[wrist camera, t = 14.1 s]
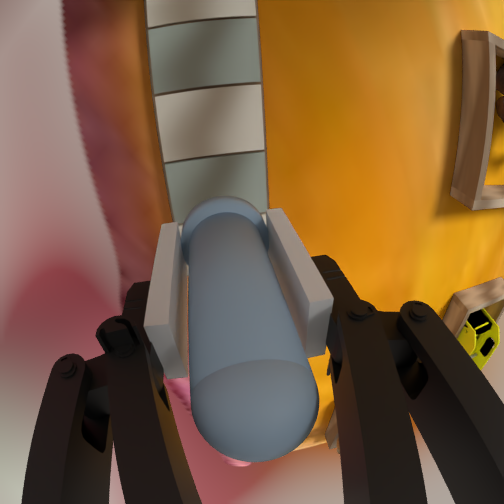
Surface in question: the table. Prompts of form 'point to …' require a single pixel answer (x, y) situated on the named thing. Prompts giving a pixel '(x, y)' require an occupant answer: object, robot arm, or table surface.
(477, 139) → the frame
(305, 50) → the table surface
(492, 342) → the yellow toy chassis
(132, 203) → the table surface
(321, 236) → the table surface
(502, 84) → the pottery mug
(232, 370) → the blue-grey rounded peg
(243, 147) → the track
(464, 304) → the camera organizer frame
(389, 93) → the table surface
